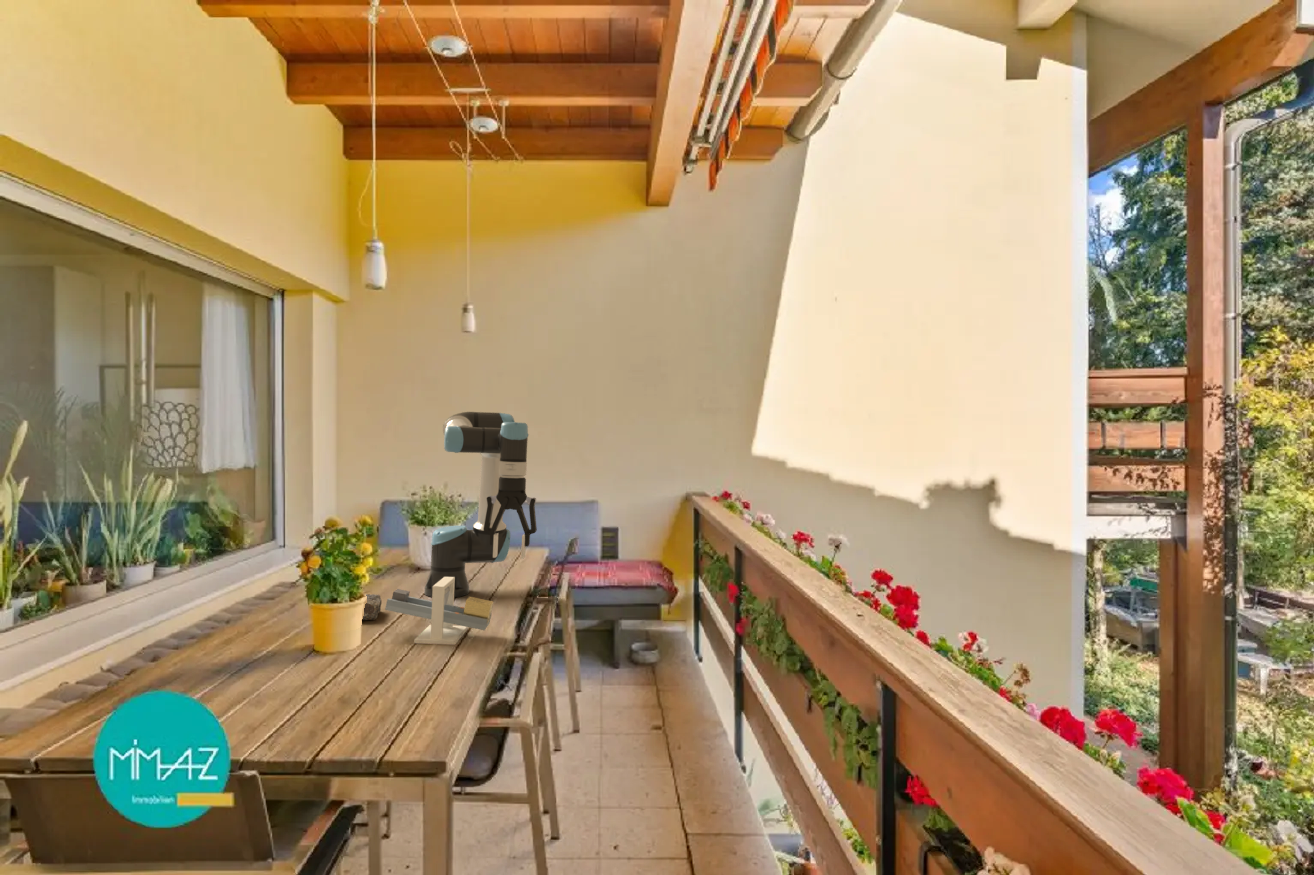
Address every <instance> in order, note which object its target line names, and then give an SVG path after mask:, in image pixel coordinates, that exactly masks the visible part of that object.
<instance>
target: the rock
mask: <svg viewBox="0 0 1314 875" xmlns="http://www.w3.org/2000/svg"><path fill="white" fill-rule="evenodd" d="M365 594H366V596H367V603H366V604H365V608H364V616H363V619H364V620H363V621H374V620H377V618H378V616H379V613H380V612H381V610H382V609H381V608H382V598H381V595H380V594H375V593H374V594H370V593H368V594H367V593H365Z"/></svg>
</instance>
